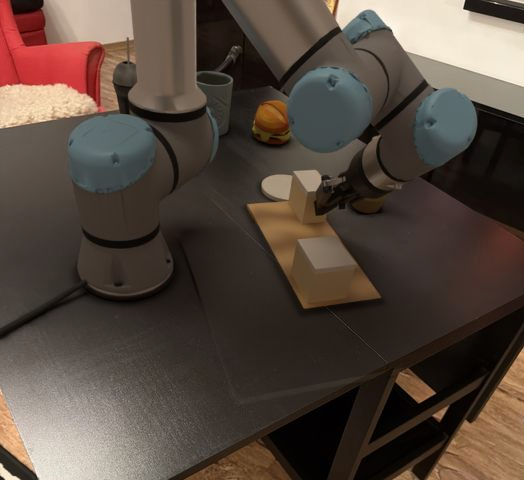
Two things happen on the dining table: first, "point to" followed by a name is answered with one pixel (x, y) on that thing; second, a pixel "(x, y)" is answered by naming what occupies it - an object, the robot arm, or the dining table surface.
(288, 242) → the serving board
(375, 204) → the squeeze bottle
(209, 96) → the drinking glass
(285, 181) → the plate
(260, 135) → the cheeseburger
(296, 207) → the cake slice
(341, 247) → the cake
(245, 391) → the dining table surface
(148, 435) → the dining table surface
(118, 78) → the beverage cup
